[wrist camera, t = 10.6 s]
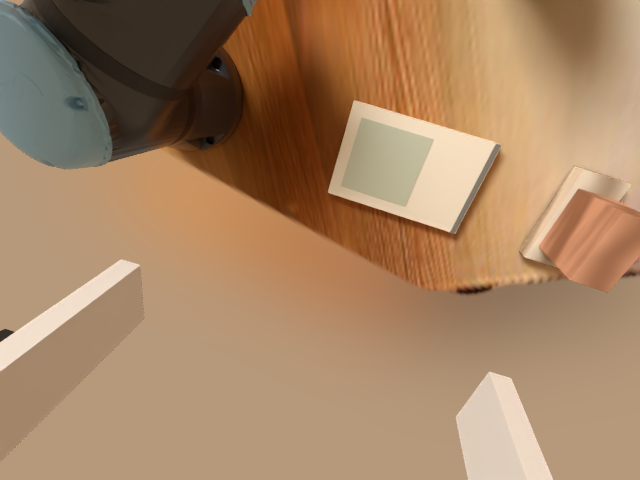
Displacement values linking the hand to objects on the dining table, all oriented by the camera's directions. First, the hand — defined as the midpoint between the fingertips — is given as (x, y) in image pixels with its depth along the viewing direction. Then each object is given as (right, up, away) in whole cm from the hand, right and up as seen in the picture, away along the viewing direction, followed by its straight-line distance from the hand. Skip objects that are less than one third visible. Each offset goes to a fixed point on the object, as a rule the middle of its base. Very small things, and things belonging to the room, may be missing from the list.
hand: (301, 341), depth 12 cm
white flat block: (+12, +13, +30) cm, 35 cm away
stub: (+32, +7, +28) cm, 43 cm away
